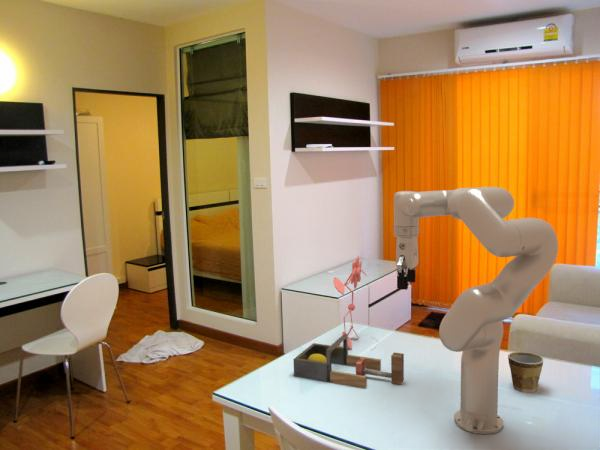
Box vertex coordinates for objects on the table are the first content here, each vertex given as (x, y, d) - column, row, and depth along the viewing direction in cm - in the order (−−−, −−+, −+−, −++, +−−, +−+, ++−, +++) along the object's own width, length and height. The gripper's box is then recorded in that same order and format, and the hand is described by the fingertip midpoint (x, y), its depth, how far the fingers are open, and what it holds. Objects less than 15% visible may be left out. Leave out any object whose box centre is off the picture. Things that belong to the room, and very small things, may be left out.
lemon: (332, 355, 182) (310, 352, 185) (326, 355, 177) (304, 352, 180) (330, 371, 181) (309, 368, 184) (324, 372, 176) (303, 368, 179)
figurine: (328, 353, 195) (328, 261, 190) (349, 332, 219) (350, 249, 214) (368, 359, 189) (369, 264, 185) (385, 337, 213) (387, 252, 208)
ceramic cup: (546, 396, 156) (547, 364, 155) (510, 394, 159) (511, 362, 157) (535, 378, 169) (536, 348, 168) (503, 376, 171) (503, 347, 170)
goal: (330, 382, 170) (329, 350, 169) (293, 376, 176) (293, 344, 175) (347, 364, 185) (347, 334, 184) (313, 359, 191) (313, 329, 189)
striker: (400, 385, 166) (400, 358, 165) (355, 378, 172) (355, 352, 171) (404, 379, 171) (404, 352, 170) (361, 372, 177) (361, 346, 176)
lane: (365, 388, 165) (365, 377, 165) (330, 382, 170) (330, 371, 170) (380, 369, 180) (380, 359, 179) (347, 364, 185) (347, 354, 184)
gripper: (411, 235, 152) (411, 293, 154) (424, 228, 168) (424, 280, 170) (386, 234, 155) (387, 291, 158) (401, 227, 171) (401, 278, 173)
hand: (406, 285), depth 164 cm, fingers open, 9 cm apart
